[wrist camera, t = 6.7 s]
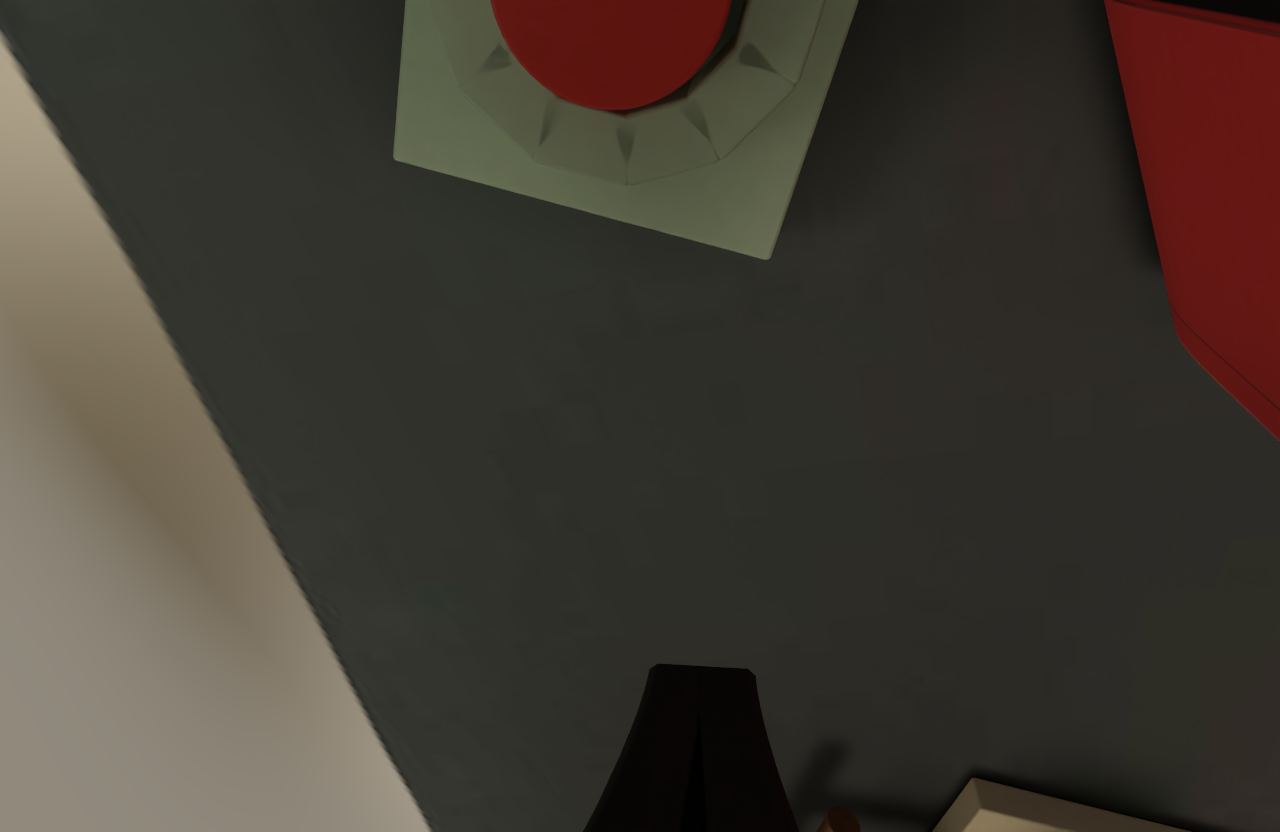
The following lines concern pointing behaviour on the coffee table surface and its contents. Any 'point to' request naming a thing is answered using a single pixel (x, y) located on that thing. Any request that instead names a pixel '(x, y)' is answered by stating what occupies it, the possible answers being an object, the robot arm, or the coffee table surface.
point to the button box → (628, 121)
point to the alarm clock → (1212, 177)
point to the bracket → (1032, 813)
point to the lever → (839, 821)
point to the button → (611, 45)
